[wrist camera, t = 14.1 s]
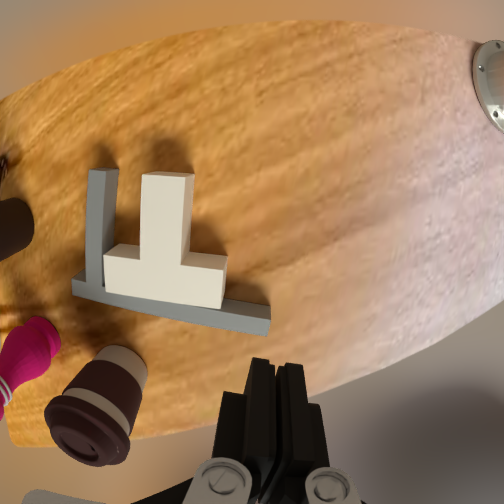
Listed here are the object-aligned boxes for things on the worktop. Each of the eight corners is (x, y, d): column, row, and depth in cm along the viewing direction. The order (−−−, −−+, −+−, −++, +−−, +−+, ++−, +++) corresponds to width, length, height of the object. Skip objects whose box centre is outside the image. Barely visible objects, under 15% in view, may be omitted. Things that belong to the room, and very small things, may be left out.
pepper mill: (22, 307, 36) (-67, 386, 17) (59, 318, 36) (-30, 413, 17) (31, 348, 38) (-42, 430, 19) (67, 361, 38) (-3, 457, 19)
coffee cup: (85, 370, 39) (37, 443, 25) (98, 321, 36) (37, 397, 22) (146, 403, 40) (113, 485, 26) (168, 358, 37) (131, 451, 23)
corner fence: (294, 196, 31) (297, 200, 28) (266, 321, 35) (267, 336, 32) (87, 165, 30) (73, 168, 27) (84, 284, 34) (72, 294, 32)
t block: (235, 177, 30) (231, 181, 27) (224, 291, 34) (220, 309, 30) (120, 169, 30) (103, 172, 26) (120, 277, 34) (105, 291, 30)
